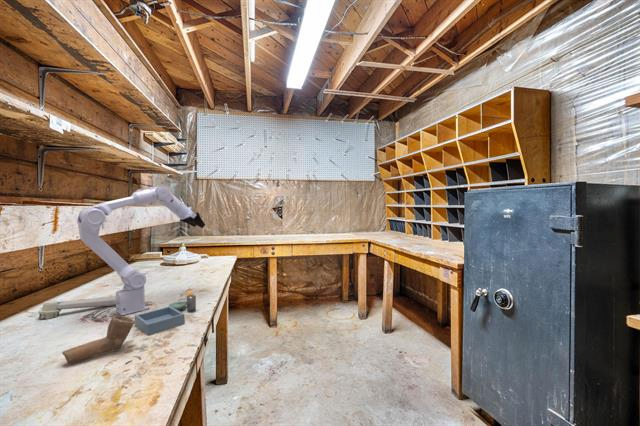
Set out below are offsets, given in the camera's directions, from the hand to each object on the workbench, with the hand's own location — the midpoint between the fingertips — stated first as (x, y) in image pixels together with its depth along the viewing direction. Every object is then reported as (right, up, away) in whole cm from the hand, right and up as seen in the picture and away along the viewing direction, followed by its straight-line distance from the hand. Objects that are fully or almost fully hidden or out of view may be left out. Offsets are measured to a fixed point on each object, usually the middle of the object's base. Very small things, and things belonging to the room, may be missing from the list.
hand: (199, 225), depth 138 cm
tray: (0, -33, -34) cm, 48 cm away
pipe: (-6, -35, -54) cm, 64 cm away
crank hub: (0, -33, -20) cm, 39 cm away
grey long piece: (-38, -33, -21) cm, 55 cm away
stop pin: (+5, -33, -21) cm, 40 cm away
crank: (0, -32, -19) cm, 37 cm away
